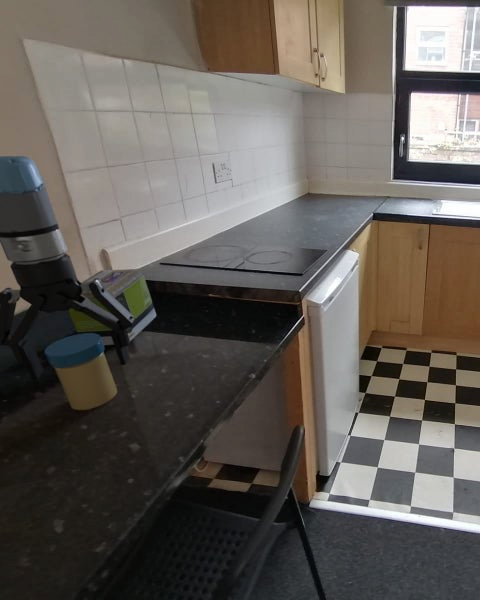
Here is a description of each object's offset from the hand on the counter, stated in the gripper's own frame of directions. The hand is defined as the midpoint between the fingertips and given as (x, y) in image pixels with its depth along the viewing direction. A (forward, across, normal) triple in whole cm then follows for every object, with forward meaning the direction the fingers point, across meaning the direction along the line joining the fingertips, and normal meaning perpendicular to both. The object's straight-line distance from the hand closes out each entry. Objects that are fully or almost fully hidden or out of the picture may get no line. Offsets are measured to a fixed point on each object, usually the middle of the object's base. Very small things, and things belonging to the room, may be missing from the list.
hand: (82, 368), depth 74 cm
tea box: (+7, -1, +26) cm, 27 cm away
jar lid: (-5, 0, 0) cm, 5 cm away
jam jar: (+7, 0, 0) cm, 7 cm away
